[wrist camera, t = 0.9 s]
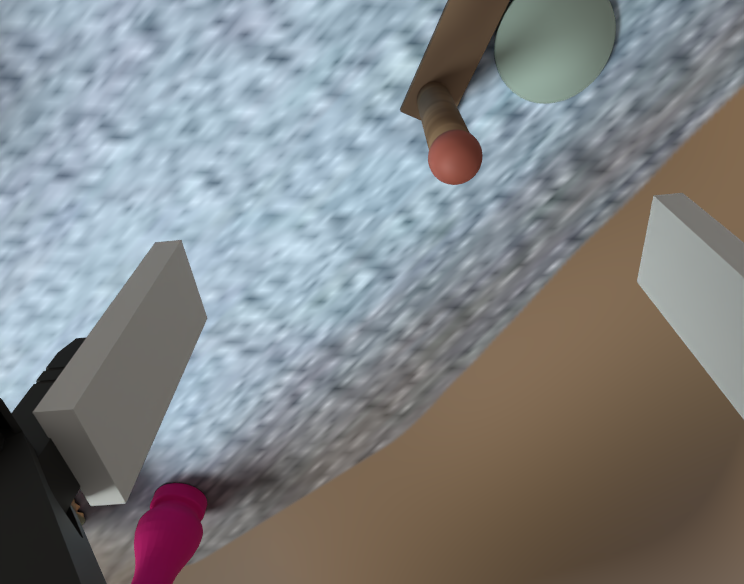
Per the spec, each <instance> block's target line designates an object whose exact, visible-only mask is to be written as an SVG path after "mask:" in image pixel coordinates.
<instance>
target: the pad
mask: <svg viewBox="0 0 744 584" xmlns="http://www.w3.org/2000/svg"><path fill="white" fill-rule="evenodd" d="M615 29H616V25H615V16H614V12H613V8H612V6H611V3H610V1H609V0H513V1H512V2H511V3H510V4H509V6H508V7H507V9H506V10H505V12H504V14H503V16H502V18H501V20H500V22H499V25H498V28H497V31H496V36H495V42H494V56H495V62H496V66H497V69H498V72H499V74H500V76H501V78H502V80H503V81H504V83H505V84H506V85H507V86H508V87H509V88H510V89H511V90H512V91H513V92H514V93H515V94H516V95H518V96H519V97H521V98H523V99H525V100H528V101H530V102H535V103H544V104H545V103H555V102H560V101H563V100H566V99H568V98H571V97H573V96H575V95H576V94H578V93H580V92H581V91H583V90H584V89H585V88H586V87H588V86H589V85H590V84H591V83H592V82H593V81H594V80H595V79H596V77H597V76H598V75H599V74H600V72H601V71H602V70H603V68H604V66H605V65H606V63H607V61H608V59H609V56H610V54H611V51H612V48H613V45H614V39H615Z"/></svg>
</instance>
